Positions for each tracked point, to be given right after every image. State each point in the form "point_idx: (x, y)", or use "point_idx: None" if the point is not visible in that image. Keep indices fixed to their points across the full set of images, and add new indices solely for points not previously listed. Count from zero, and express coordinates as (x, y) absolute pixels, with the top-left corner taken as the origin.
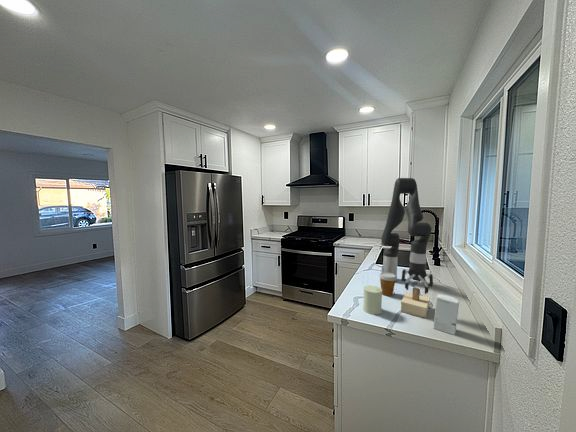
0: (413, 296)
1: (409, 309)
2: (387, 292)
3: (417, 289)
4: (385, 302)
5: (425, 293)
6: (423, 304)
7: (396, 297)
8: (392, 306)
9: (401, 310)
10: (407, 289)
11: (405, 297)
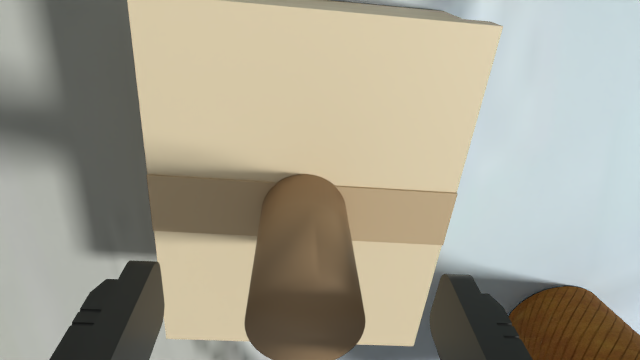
0: (335, 210)
1: (359, 8)
2: (576, 313)
3: (283, 321)
4: (590, 152)
5: (139, 262)
6: (188, 102)
7: None
8: (526, 96)
9: (442, 12)
10: (450, 276)
11: (430, 198)
